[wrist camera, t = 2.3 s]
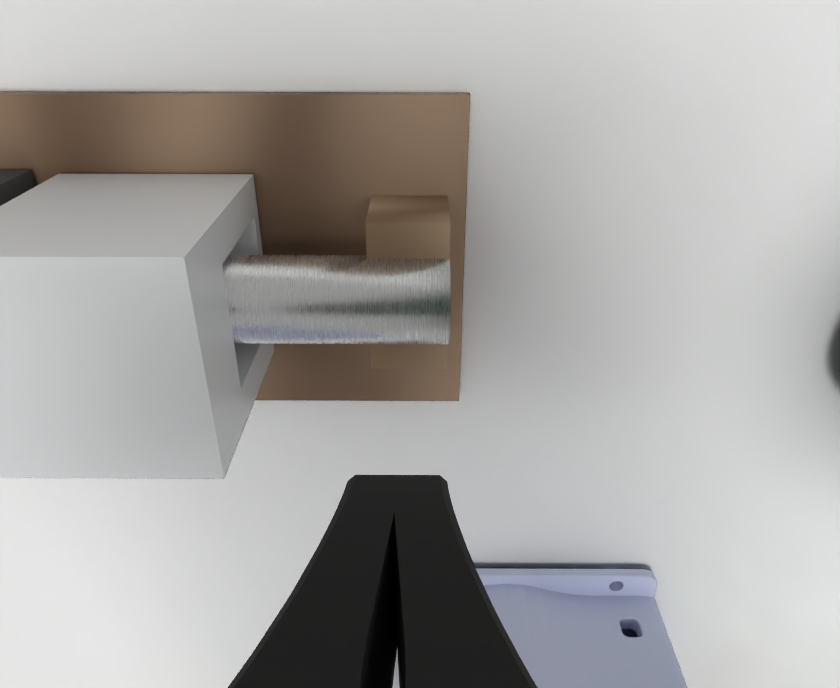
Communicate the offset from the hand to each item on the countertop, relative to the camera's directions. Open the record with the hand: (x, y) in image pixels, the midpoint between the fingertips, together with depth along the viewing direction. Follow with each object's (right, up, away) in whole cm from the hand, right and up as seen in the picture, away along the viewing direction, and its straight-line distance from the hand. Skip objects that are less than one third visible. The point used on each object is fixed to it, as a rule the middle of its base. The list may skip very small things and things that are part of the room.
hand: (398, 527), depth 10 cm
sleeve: (-7, +5, +9) cm, 12 cm away
